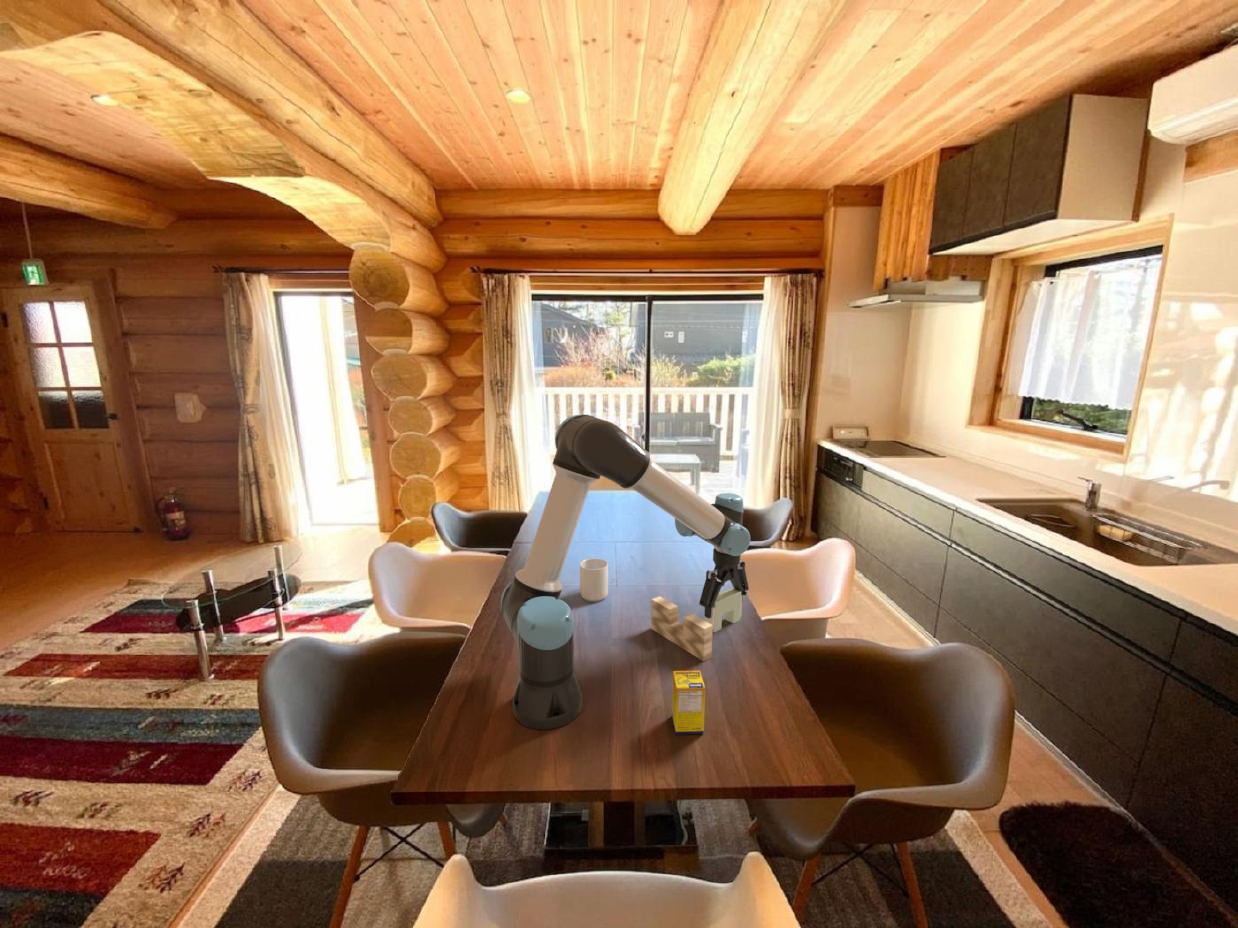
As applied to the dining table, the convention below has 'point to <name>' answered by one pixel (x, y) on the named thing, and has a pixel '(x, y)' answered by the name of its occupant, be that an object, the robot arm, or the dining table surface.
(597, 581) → the mug
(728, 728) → the dining table surface
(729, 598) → the sage plate
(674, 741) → the dining table surface
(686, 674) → the supplement box
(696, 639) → the birch board
